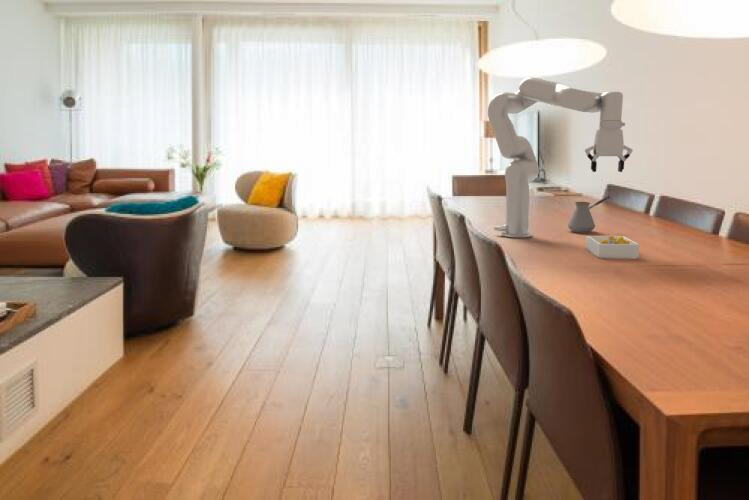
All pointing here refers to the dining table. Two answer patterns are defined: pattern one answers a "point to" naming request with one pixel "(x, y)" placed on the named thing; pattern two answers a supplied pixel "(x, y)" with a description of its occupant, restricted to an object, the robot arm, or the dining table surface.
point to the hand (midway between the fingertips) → (607, 171)
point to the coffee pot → (583, 217)
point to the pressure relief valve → (614, 240)
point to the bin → (612, 248)
